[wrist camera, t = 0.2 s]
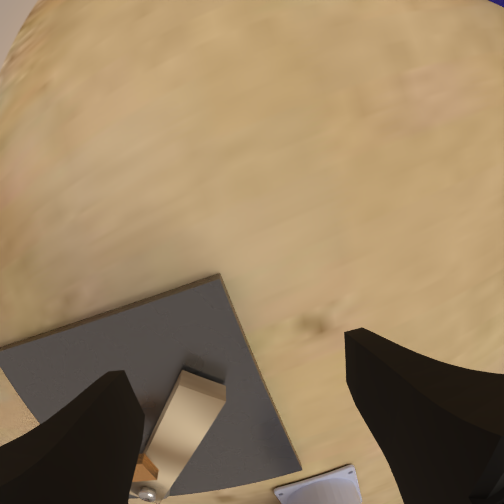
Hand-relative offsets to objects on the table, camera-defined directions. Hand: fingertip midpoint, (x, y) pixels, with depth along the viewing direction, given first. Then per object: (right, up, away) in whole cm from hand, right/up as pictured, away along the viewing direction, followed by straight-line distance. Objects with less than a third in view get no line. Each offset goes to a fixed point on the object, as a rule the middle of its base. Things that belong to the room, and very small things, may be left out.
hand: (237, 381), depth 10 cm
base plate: (-8, -9, +12) cm, 17 cm away
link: (-6, -10, +11) cm, 16 cm away
